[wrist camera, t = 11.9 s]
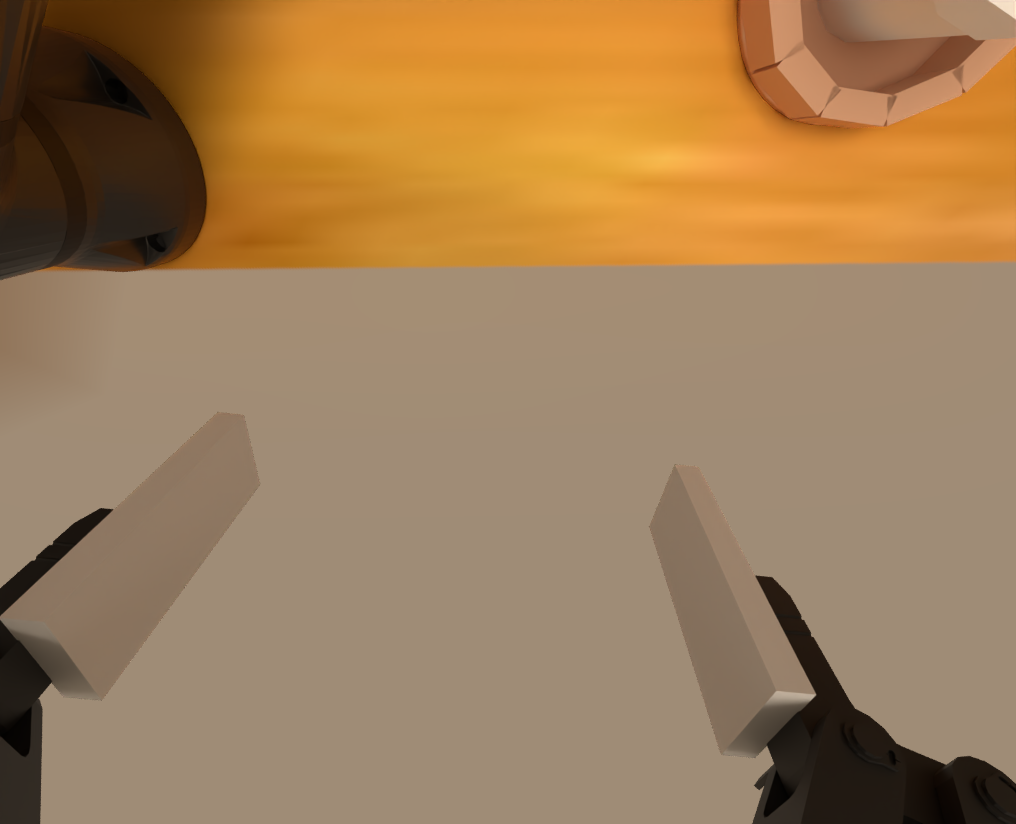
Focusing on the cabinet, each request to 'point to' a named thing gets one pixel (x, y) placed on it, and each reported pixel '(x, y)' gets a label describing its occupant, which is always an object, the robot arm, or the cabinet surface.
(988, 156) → the cabinet surface
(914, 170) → the cabinet surface
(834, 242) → the cabinet surface
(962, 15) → the foam cup
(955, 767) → the robot arm
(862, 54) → the bowl
